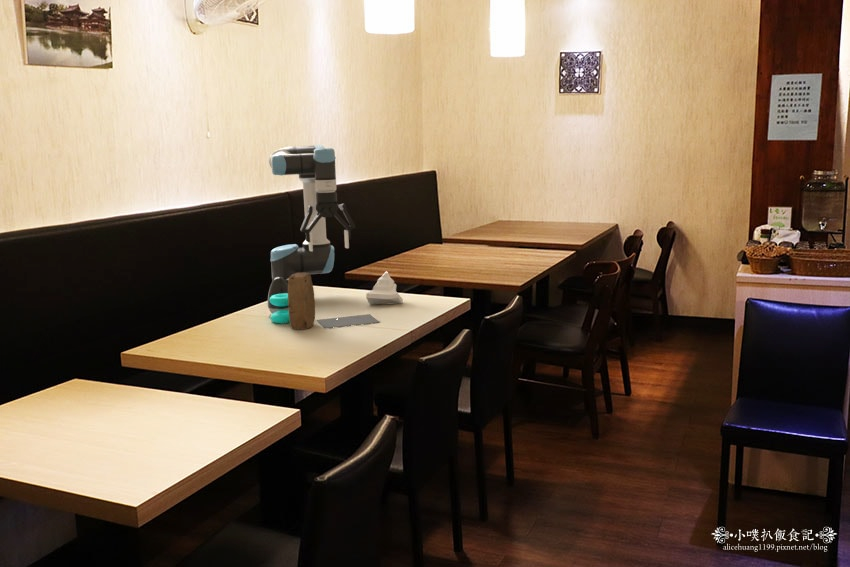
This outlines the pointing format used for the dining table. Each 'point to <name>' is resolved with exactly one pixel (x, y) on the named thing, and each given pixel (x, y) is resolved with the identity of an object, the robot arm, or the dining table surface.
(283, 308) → the dark grey tapered piece
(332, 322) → the mat
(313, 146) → the robot arm
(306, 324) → the block
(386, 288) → the soft serve ice cream
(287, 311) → the donuts
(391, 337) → the dining table surface
